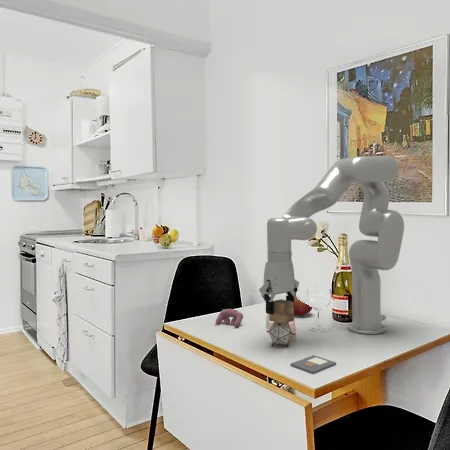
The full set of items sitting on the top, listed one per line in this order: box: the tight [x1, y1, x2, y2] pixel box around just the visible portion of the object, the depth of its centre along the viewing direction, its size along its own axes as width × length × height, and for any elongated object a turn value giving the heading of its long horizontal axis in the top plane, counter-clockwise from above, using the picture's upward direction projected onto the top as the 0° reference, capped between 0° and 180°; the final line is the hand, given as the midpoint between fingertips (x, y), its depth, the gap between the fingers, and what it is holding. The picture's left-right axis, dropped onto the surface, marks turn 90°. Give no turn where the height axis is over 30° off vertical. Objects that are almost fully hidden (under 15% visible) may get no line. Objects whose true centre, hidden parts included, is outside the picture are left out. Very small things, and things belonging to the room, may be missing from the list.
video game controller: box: [215, 308, 244, 329], centre depth 163 cm, size 10×5×7 cm, turn 58°
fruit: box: [294, 296, 313, 316], centre depth 174 cm, size 11×10×10 cm
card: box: [289, 354, 337, 375], centre depth 121 cm, size 10×8×1 cm
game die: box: [266, 322, 296, 348], centre depth 138 cm, size 9×8×10 cm
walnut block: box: [268, 298, 295, 324], centre depth 138 cm, size 6×6×6 cm
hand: (280, 311), depth 138 cm, fingers open, 8 cm apart
